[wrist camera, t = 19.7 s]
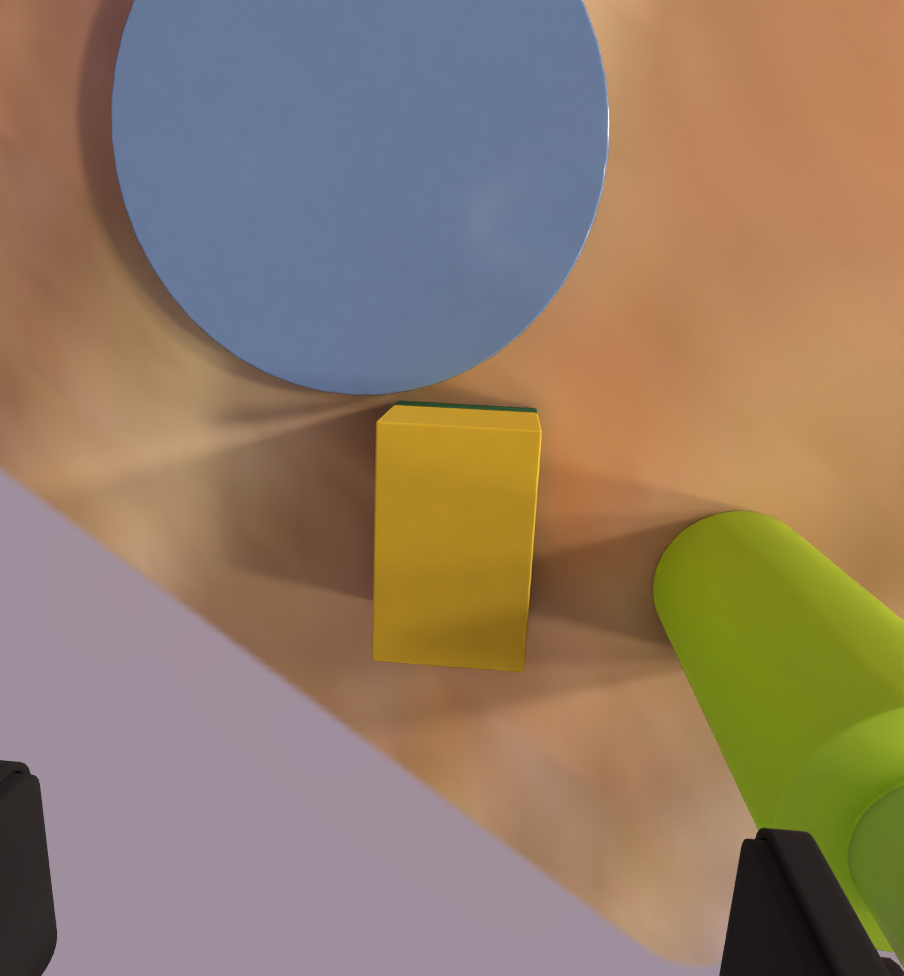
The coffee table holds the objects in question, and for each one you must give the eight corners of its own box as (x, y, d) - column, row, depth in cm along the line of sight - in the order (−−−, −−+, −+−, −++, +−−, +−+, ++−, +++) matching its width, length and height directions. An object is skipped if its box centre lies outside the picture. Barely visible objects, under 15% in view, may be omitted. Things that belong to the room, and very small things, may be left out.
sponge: (397, 400, 26) (375, 421, 22) (536, 408, 26) (541, 430, 22) (392, 605, 29) (371, 661, 24) (521, 615, 28) (524, 673, 24)
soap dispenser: (620, 655, 28) (859, 1424, 9) (686, 490, 26) (1159, 1008, 7) (766, 700, 28) (1315, 1563, 9) (842, 538, 27) (1734, 1184, 7)
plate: (111, -135, 23) (90, -158, 22) (630, -131, 22) (636, -155, 21) (144, 379, 27) (127, 383, 26) (582, 403, 26) (586, 408, 25)
